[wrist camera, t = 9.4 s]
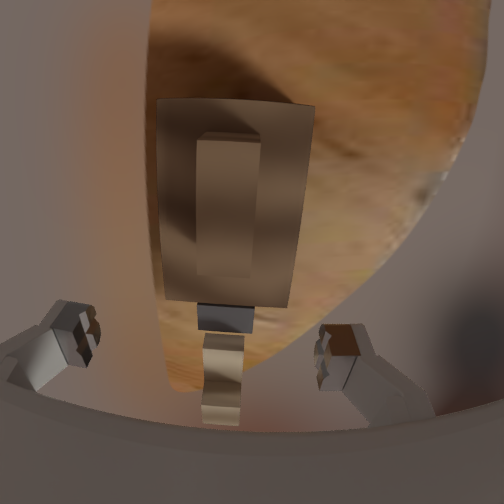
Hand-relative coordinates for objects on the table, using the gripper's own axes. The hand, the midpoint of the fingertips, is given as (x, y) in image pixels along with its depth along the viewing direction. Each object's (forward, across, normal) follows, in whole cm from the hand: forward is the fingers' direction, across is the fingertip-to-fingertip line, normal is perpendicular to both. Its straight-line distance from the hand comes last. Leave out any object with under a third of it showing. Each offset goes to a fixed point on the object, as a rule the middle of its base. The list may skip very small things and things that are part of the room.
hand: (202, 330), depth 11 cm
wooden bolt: (+13, 0, +17) cm, 22 cm away
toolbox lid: (+15, 0, +1) cm, 15 cm away
